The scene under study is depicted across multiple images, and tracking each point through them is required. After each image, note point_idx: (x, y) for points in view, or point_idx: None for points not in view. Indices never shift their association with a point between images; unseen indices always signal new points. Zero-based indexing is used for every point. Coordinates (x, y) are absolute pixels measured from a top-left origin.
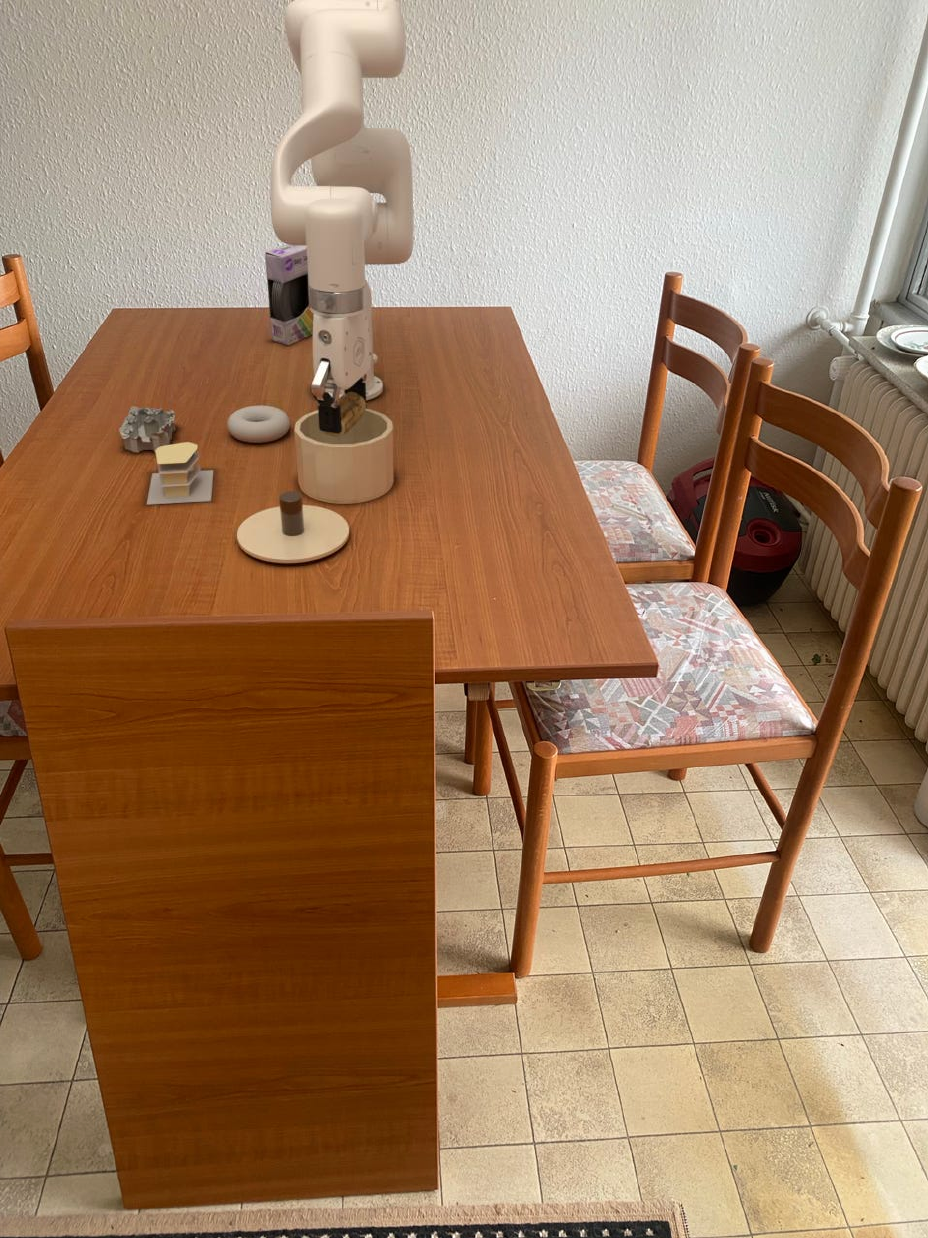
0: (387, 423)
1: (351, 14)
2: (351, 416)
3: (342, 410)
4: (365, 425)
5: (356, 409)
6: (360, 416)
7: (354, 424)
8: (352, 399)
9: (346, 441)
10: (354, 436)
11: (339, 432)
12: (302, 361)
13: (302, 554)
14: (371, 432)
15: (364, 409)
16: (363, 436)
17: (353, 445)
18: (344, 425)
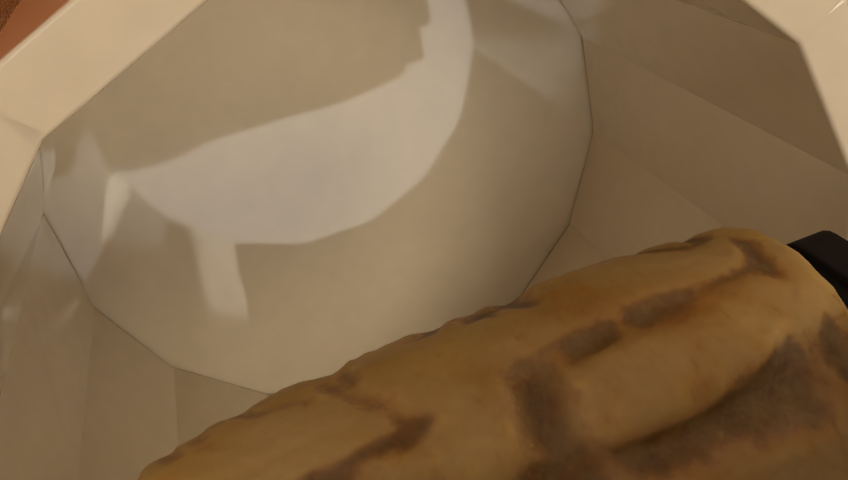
0: (80, 95)
1: None
2: (632, 351)
3: (754, 458)
4: (19, 413)
5: (472, 439)
6: (326, 385)
7: (463, 318)
8: None
9: (130, 424)
10: (80, 416)
11: (826, 234)
12: None
13: None
14: (8, 323)
15: (214, 457)
16: (41, 362)
17: (825, 6)
18: (796, 263)
